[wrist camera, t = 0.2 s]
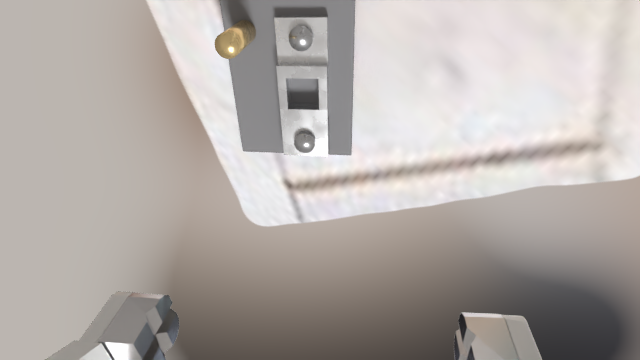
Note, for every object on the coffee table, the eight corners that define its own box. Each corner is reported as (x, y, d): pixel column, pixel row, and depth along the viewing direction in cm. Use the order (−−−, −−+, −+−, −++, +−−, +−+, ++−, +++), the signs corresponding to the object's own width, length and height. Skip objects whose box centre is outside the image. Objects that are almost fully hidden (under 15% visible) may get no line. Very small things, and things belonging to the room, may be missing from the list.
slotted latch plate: (276, 15, 51) (270, 20, 48) (328, 15, 50) (325, 20, 47) (286, 147, 62) (283, 157, 59) (329, 149, 61) (327, 159, 58)
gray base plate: (219, -9, 50) (218, -9, 50) (355, -11, 48) (355, -10, 48) (244, 149, 63) (243, 151, 63) (351, 153, 61) (351, 155, 61)
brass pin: (233, 20, 52) (212, 33, 45) (254, 19, 51) (237, 33, 45) (236, 42, 53) (217, 58, 47) (257, 42, 53) (240, 58, 46)
